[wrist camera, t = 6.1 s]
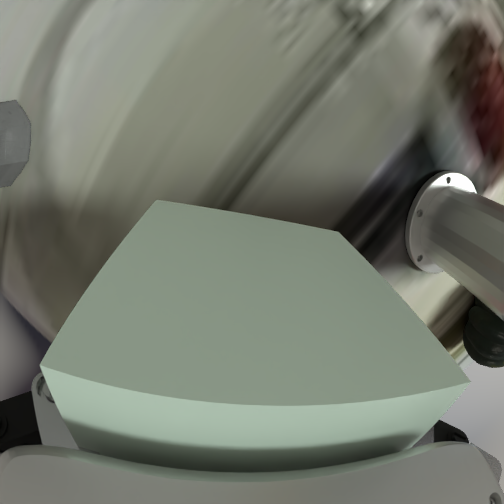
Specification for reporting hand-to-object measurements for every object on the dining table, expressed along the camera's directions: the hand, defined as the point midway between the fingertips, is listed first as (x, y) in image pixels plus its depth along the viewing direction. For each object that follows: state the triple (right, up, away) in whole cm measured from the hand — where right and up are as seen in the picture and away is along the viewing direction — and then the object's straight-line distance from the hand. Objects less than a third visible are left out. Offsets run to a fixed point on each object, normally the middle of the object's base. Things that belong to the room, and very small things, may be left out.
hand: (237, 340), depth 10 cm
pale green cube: (0, +1, +3) cm, 3 cm away
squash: (+40, -6, +27) cm, 48 cm away
